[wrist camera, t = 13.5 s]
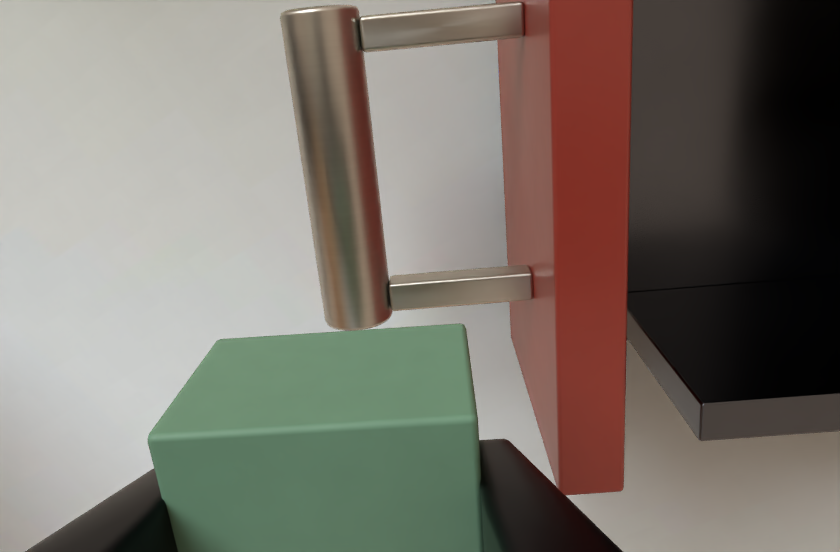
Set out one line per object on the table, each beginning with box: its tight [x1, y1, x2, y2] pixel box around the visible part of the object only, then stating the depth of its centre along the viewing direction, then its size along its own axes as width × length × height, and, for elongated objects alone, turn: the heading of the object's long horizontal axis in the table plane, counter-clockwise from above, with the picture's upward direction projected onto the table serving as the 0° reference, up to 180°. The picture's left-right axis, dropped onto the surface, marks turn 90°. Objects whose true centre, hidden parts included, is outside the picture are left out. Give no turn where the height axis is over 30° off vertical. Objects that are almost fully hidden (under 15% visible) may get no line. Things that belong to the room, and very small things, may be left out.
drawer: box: [280, 0, 840, 495], centre depth 13 cm, size 18×12×7 cm, turn 95°
